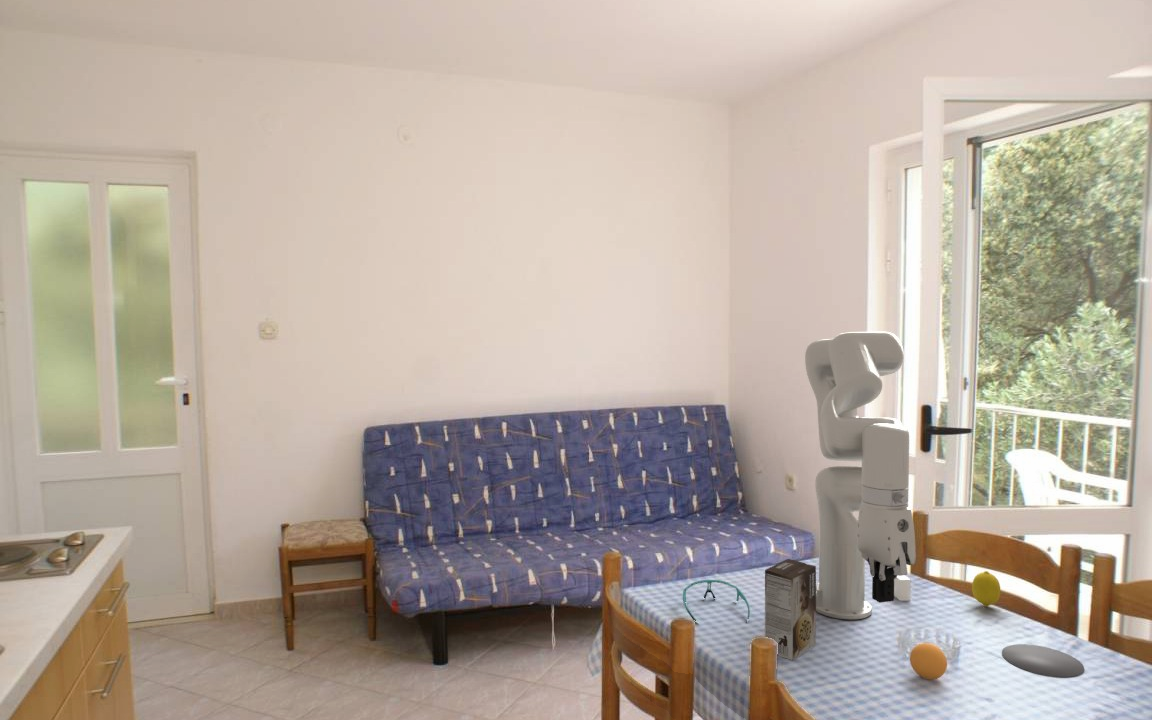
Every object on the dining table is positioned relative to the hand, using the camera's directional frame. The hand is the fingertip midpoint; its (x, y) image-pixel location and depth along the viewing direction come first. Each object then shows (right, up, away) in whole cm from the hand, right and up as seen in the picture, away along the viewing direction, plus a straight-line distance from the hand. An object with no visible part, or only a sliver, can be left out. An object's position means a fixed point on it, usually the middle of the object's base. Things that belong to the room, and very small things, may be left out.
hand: (883, 599), depth 129 cm
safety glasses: (-23, -14, +34) cm, 43 cm away
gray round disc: (+34, -14, +9) cm, 38 cm away
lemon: (+37, -13, +35) cm, 53 cm away
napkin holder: (+22, -13, +46) cm, 53 cm away
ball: (+9, -12, +3) cm, 15 cm away
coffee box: (-12, -15, +15) cm, 24 cm away
